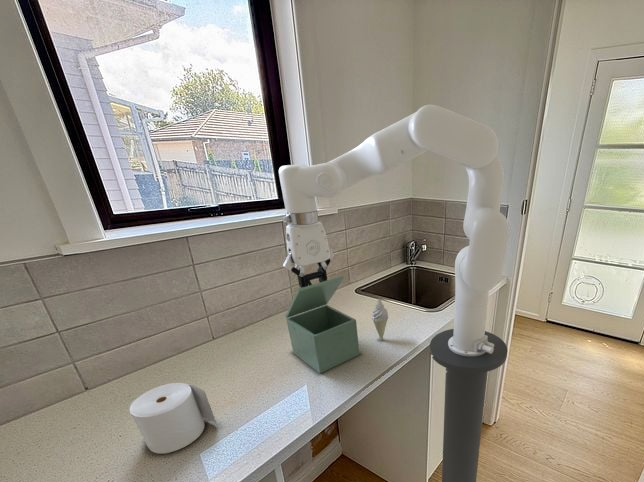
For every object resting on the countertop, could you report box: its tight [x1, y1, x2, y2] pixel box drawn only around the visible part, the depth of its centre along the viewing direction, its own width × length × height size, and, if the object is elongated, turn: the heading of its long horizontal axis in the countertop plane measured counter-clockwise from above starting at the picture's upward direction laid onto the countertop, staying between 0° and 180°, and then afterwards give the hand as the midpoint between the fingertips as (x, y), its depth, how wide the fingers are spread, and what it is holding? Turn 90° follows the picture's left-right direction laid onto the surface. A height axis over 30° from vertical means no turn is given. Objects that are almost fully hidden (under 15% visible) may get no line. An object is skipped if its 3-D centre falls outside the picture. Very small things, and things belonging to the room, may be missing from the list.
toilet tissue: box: [128, 382, 218, 455], centre depth 71 cm, size 11×12×10 cm
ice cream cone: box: [371, 297, 389, 341], centre depth 105 cm, size 5×5×15 cm
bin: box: [285, 304, 360, 374], centre depth 99 cm, size 16×14×12 cm
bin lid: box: [285, 271, 345, 319], centre depth 95 cm, size 16×14×5 cm
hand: (314, 285), depth 92 cm, fingers closed on bin lid, 5 cm apart
